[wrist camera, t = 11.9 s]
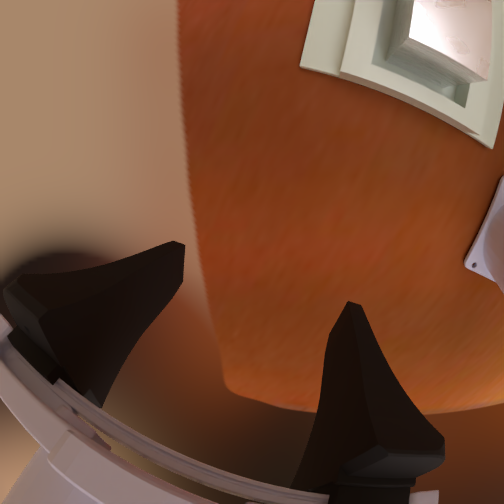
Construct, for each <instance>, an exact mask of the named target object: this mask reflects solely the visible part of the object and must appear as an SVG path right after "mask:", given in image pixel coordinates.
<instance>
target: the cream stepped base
mask: <svg viewBox="0 0 504 504" xmlns="http://www.w3.org/2000/svg"><path fill="white" fill-rule="evenodd" d="M396 2H397V0H315V3H314V7H313V11H312V16H311V20H310V24H309V28H308V33H307V37H306V41H305V45H304V49H303V54H302V58H301V62H300V67H301V68H304V69H308V70H312V71H316V72H320V73H324V74H327V75H331V76H335V77H338V78H341V79H345V80H348V81H351V82H354V83H357V84H360V85H363V86H366V87H369V88H371V89H374V90H377V91H380V92H382V93H385V94H387V95H390V96H392V97H395V98H397V99H399V100H402V101H404V102H406V103H408V104H411V105H413V106H415V107H417V108H419V109H421V110H423V111H425V112H428V113H430V114H431V115H433V116H435V117H437V118H439V119H441V120H443V121H445V122H447V123H448V124H450V125H452V126H454V127H455V128H457V129H459V130H461V131H462V132H464V133H466V134H467V135H469V136H470V137H472V138H474V139H475V140H477V141H478V142H480V143H481V144H483V145H484V146H486V147H487V148H490V149H493V146H494V142H495V139H496V135H497V131H498V127H499V122H500V118H501V113H502V108H503V102H504V0H492V41H491V55H490V65H489V73H488V80H487V81H482V82H475V83H468V84H462V85H456V86H451V87H446V88H441V87H440V86H438V85H436V84H434V83H432V82H430V81H428V80H426V79H424V78H422V77H420V76H417V75H415V74H413V73H411V72H409V71H406V70H404V69H402V68H399V67H397V66H395V65H392V64H390V63H387V62H386V57H387V52H388V48H389V43H390V37H391V32H392V27H393V21H394V15H395V8H396Z"/></svg>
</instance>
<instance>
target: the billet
mask: <svg viewBox="0 0 504 504" xmlns="http://www.w3.org/2000/svg"><path fill="white" fill-rule="evenodd" d="M491 41H492V0H397V2H396V8H395V15H394V21H393V27H392V32H391V37H390V43H389V48H388V52H387V57H386V62H387V63H390V64H392V65H395V66H397V67H399V68H402V69H404V70H406V71H409V72H411V73H413V74H415V75H417V76H420V77H422V78H424V79H426V80H428V81H430V82H432V83H434V84H436V85H438V86H440V87H441V88H446V87H451V86H456V85H462V84H468V83H475V82H482V81H487V80H488V73H489V65H490V55H491Z"/></svg>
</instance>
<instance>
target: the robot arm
mask: <svg viewBox="0 0 504 504" xmlns="http://www.w3.org/2000/svg"><path fill="white" fill-rule="evenodd" d="M184 255H185V245H184V244H181V243H178V242H175V241H171V242H168V243H165V244H162V245H159V246H156V247H154V248H152V249H149V250H146V251H143V252H141V253H138V254H135V255H133V256H130V257H127V258H124V259H121V260H118V261H115V262H112V263H108V264H105V265H101V266H97V267H93V268H88V269H83V270H77V271H71V272H63V273H52V274H22V275H20V276H19V277H18V278H17V279H15V280H14V281H13V282H12V283H10V284H9V285H8V286H7V287H6V288H5V289H4V290H3V295H4V299H5V302H6V304H7V306H8V308H9V310H10V312H11V314H12V316H13V319H14V321H15V322H16V324H17V327H16V328H14V329H13V328H12V327H11V325H10V324H9V323H8V322H7V321H6V319H5V318H3V316H2V315H1V314H0V398H1V399H2V401H3V402H4V403H5V404H6V406H7V407H8V408H9V409H10V411H11V412H12V414H13V415H14V416H15V417H16V418H17V420H18V421H19V422H20V423H21V424H22V426H23V427H24V428H25V429H26V430H27V431H28V432H29V433H30V435H31V436H32V437H33V438H34V439H35V440H36V441H37V442H38V443H39V444H40V445H41V446H40V447H39V449H38V450H37V452H36V453H35V454H34V456H33V457H32V459H31V460H30V461H29V463H28V464H27V466H26V467H25V469H24V470H23V472H22V473H21V475H20V477H19V478H18V479H17V481H16V482H15V484H14V485H13V487H12V488H11V490H10V492H9V493H8V495H7V497H6V498H5V499H4V501H3V503H2V504H218V503H215V502H213V501H210V500H207V499H205V498H202V497H200V496H197V495H195V494H192V493H190V492H187V491H185V490H183V489H181V488H178V487H176V486H174V485H171V484H169V483H167V482H165V481H163V480H161V479H159V478H157V477H155V476H153V475H151V474H149V473H147V472H145V471H143V470H142V469H140V468H138V467H136V466H134V465H132V464H131V463H129V462H127V461H126V460H124V459H122V458H120V457H119V456H117V455H115V454H114V453H112V452H111V451H110V450H111V446H109V445H108V444H107V443H106V442H104V440H102V438H100V436H98V434H97V433H96V431H95V430H94V429H93V428H91V427H90V426H89V425H88V424H86V423H85V422H84V421H83V420H81V419H80V418H79V417H78V415H79V416H80V417H82V418H83V419H84V420H86V421H87V422H88V423H90V424H91V425H93V426H94V427H95V428H97V429H98V430H100V431H101V432H103V433H104V434H106V435H107V436H109V437H110V438H112V439H113V440H115V441H117V442H118V443H120V444H121V445H123V446H125V447H126V448H128V449H130V450H132V451H133V452H135V453H137V454H139V455H140V456H142V457H144V458H146V459H148V460H150V461H152V462H154V463H156V464H158V465H160V466H162V467H164V468H166V469H169V470H170V471H172V472H174V473H177V474H179V475H181V476H184V477H186V478H188V479H191V480H193V481H196V482H198V483H201V484H203V485H206V486H209V487H212V488H214V489H217V490H220V491H223V492H226V493H229V494H233V495H236V496H239V497H243V498H246V499H250V500H254V501H258V502H262V503H266V504H438V497H439V491H438V490H432V491H423V492H415V493H410V487H413V486H414V485H415V483H416V477H418V476H420V475H423V474H425V473H427V472H429V471H431V470H433V469H435V468H437V467H439V466H440V465H441V464H442V463H443V462H444V460H445V440H444V437H443V436H442V435H441V434H440V433H439V432H438V431H437V430H436V429H435V428H434V427H433V426H432V425H431V424H430V423H429V422H428V421H427V420H426V418H425V417H424V416H423V415H422V413H421V412H420V411H419V410H418V409H417V407H416V406H415V405H414V404H413V402H412V401H411V399H410V398H409V397H408V395H407V394H406V392H405V391H404V390H403V388H402V387H401V385H400V383H399V382H398V380H397V378H396V377H395V375H394V374H393V372H392V370H391V368H390V367H389V365H388V363H387V361H386V359H385V357H384V355H383V353H382V351H381V349H380V347H379V345H378V342H377V340H376V338H375V336H374V334H373V331H372V329H371V327H370V324H369V322H368V320H367V317H366V315H365V313H364V310H363V308H362V306H361V305H359V304H356V303H353V302H350V301H348V302H347V304H346V305H345V307H344V309H343V311H342V313H341V314H340V316H339V318H338V320H337V322H336V323H335V325H334V327H333V328H332V330H331V332H330V334H329V338H328V342H327V347H326V351H325V357H324V367H323V376H322V384H321V393H320V400H319V405H318V410H317V414H316V417H315V421H314V425H313V428H312V431H311V434H310V438H309V441H308V444H307V447H306V450H305V452H304V455H303V458H302V460H301V463H300V465H299V468H298V470H297V472H296V475H295V477H294V479H293V482H292V484H291V486H290V488H289V489H288V488H284V487H279V486H275V485H270V484H266V483H262V482H258V481H255V480H251V479H248V478H244V477H241V476H238V475H235V474H232V473H229V472H226V471H223V470H220V469H217V468H214V467H212V466H209V465H206V464H204V463H201V462H199V461H196V460H194V459H192V458H189V457H187V456H184V455H182V454H180V453H178V452H176V451H173V450H171V449H169V448H167V447H165V446H163V445H161V444H159V443H157V442H155V441H153V440H151V439H149V438H148V437H146V436H144V435H142V434H140V433H138V432H137V431H135V430H133V429H131V428H130V427H128V426H126V425H125V424H123V423H121V422H120V421H118V420H117V419H115V418H113V417H112V416H110V415H109V414H107V413H106V412H104V411H103V410H101V409H100V408H102V406H103V404H104V401H105V399H106V397H107V395H108V393H109V390H110V388H111V386H112V384H113V382H114V380H115V378H116V376H117V374H118V373H119V371H120V369H121V367H122V365H123V364H124V362H125V360H126V359H127V357H128V355H129V353H130V352H131V350H132V349H133V347H134V346H135V344H136V343H137V341H138V339H139V338H140V337H141V335H142V334H143V333H144V331H145V330H146V329H147V328H148V327H149V325H150V324H151V323H152V322H153V320H154V319H155V318H156V317H157V316H158V315H159V314H160V312H161V311H162V310H163V309H164V308H165V306H166V305H167V304H168V303H169V302H170V300H171V299H172V298H173V296H174V295H175V293H176V292H177V290H178V289H179V287H180V285H181V284H182V282H183V271H184ZM473 263H475V264H474V265H473V266H472V264H473ZM464 265H465V267H466V268H467V269H470V270H472V271H474V272H476V273H478V274H480V275H482V276H484V277H486V278H488V279H490V280H492V281H494V282H496V283H497V284H498V286H499V287H500V289H501V291H502V292H503V294H504V175H503V176H502V177H501V179H500V182H499V185H498V188H497V191H496V193H495V196H494V198H493V201H492V203H491V206H490V208H489V211H488V213H487V215H486V217H485V220H484V222H483V224H482V226H481V228H480V230H479V233H478V235H477V237H476V239H475V241H474V243H473V245H472V247H471V249H470V250H469V252H468V254H467V256H466V258H465V260H464ZM77 414H78V415H77ZM245 504H259V503H253V502H247V503H245Z"/></svg>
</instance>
